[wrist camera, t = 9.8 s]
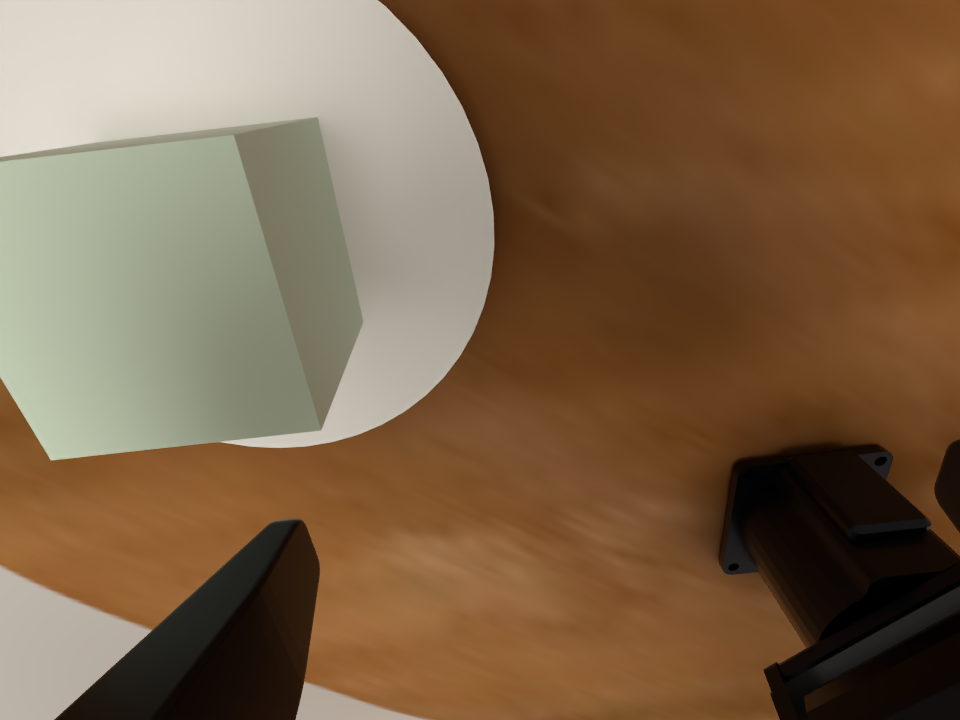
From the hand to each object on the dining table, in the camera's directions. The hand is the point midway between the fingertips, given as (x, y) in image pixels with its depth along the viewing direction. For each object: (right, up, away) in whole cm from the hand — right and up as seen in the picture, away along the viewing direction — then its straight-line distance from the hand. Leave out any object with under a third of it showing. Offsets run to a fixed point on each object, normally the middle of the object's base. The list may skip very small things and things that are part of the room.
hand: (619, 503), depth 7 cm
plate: (-9, +6, +9) cm, 14 cm away
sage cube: (-9, +6, +8) cm, 13 cm away
